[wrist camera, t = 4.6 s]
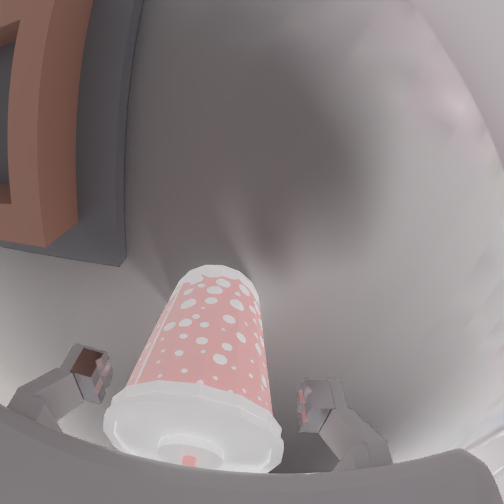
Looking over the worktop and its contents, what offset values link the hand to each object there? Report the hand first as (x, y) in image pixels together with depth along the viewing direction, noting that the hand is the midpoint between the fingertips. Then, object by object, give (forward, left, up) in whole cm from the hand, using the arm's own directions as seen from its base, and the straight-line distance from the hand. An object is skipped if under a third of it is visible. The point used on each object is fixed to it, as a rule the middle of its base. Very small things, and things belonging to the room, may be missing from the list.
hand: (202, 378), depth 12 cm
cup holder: (+13, -10, -5) cm, 17 cm away
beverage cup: (0, 0, -6) cm, 6 cm away
